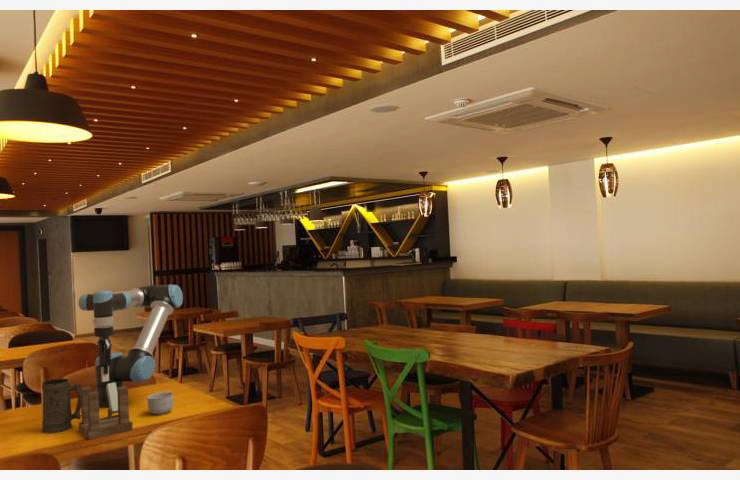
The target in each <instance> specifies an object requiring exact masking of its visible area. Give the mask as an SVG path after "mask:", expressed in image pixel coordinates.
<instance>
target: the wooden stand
mask: <svg viewBox="0 0 740 480" xmlns="http://www.w3.org/2000/svg"><path fill="white" fill-rule="evenodd" d="M117 395H118V413H117V414H116V415H115V414H114V415H113V414H112V410H111V409H110V408H107V416H105V417H101V418H100V407H99V393H98V392H97V391H96V390H95V391H92V387H91V386H84V387H81V409H80V414H81V422H78V430H79V431H80V433H81V434H82V435H83V436H85V437H86V438H87V440H88V441H90V440H94V439H99V438H103V437H108V436H113V435H116V434H121V433H126V432H129V431H133V422H132V421H131V420H130V409H129V407H130V406H129V405H130V404H129V387H128V386H126V385H123V387H118V388H117Z"/></svg>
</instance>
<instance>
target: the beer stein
mask: <svg viewBox="0 0 740 480" xmlns="http://www.w3.org/2000/svg"><path fill="white" fill-rule="evenodd" d="M81 388H82V387H81V383H80V382H79V383H78V382H77V383H75V384H73V385H71V384H70V380H69V379H68V378H55V379H49V380H46V381H42V384H41V389H42V422H41V424H42V427H41V431H42V433H46V434H54V433H61V432H66V431H67V430H70V429H71V428H72V426H73V425H72V424H73V423H72V420H74V419H76V420H81V419H82V414H81ZM71 391H75V392H76V395H77V403H76V407H75V410H74V412H73V413H72V403H71V402H72V401H71Z"/></svg>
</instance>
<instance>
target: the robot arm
mask: <svg viewBox="0 0 740 480" xmlns="http://www.w3.org/2000/svg"><path fill="white" fill-rule="evenodd" d="M183 296H184V295H183V291H182V289H181V287H180V286H178V285H177V284H171V283H170V284H159V285H158V284H151V285H145V286H140V287H133V288H131V289H130V290H121V291H112V290H97V291H95V292H94V293H87V294H82V295H80V297H79V298H78V307H79V309H80V310H82V311H86V312H89V311H90V312H92V311H93V319H92V323H93V325H94V329H93V330H94V331H93V333H94V337H96V338H98V340H97V347H98V348H97V349H98V350H97V351H98V357H96V359H95V365H94V367H95V369H94V370H95V385H96V386H95V387H96V388H95V391H97V392H98V393H99V408H110V407H109V401H108V396H107V390H106V386H107V384H109V383H115V382H116V387H117V388H118V387H123V386H124V382H129V383H130V382H131V383H132V382H133V383H141V382H146V381H148V380H149V379H150V378H151V377H152V376H153V374H154V372H155V368H156V367H155V366H156V362H155V358H154V355H153V352H154V350H155V348H156V345H157V344H158V340H159V338H160V336H161V333H162V332H163V329H164V327H165V324H166V322H167V320H168V317H169V316H170V315H171V314H173V313H174V311H175V309H176V308H180V307H181V306H182V304H183V300H184V297H183ZM130 306H131V307H134V308H138V307H139V308H141V307H143V308H151V311H150V313H149V314H148V317H147V319H146V321H145V323H144V326H143V328H142V329H141V332H140V334H139V337H138V338H137V340H136V343H135V346H134V347H132V348H130V349H129V351H128V353H127V355H123V353H122V352H121V351H120V352H119V351H117V352H113V353H112V343H111V340H110V336H113V335H114V327H113V325H114V315H113V314H114V313H113V312H116V311H123V310H126V309H128V308H129V307H130Z"/></svg>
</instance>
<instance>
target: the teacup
mask: <svg viewBox="0 0 740 480" xmlns="http://www.w3.org/2000/svg"><path fill="white" fill-rule="evenodd" d="M146 399H147V406H148V407H147V408H148V410H149V412H150V413H151V414H153V415H154V416H155V415H156V416H158V415H165V414H167V413H169V412H170V411H171V410H172V409H173V407H174V393H173V392H172V391H163V392H156V393H152V394H150V395H148V396H147V397H146Z"/></svg>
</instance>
